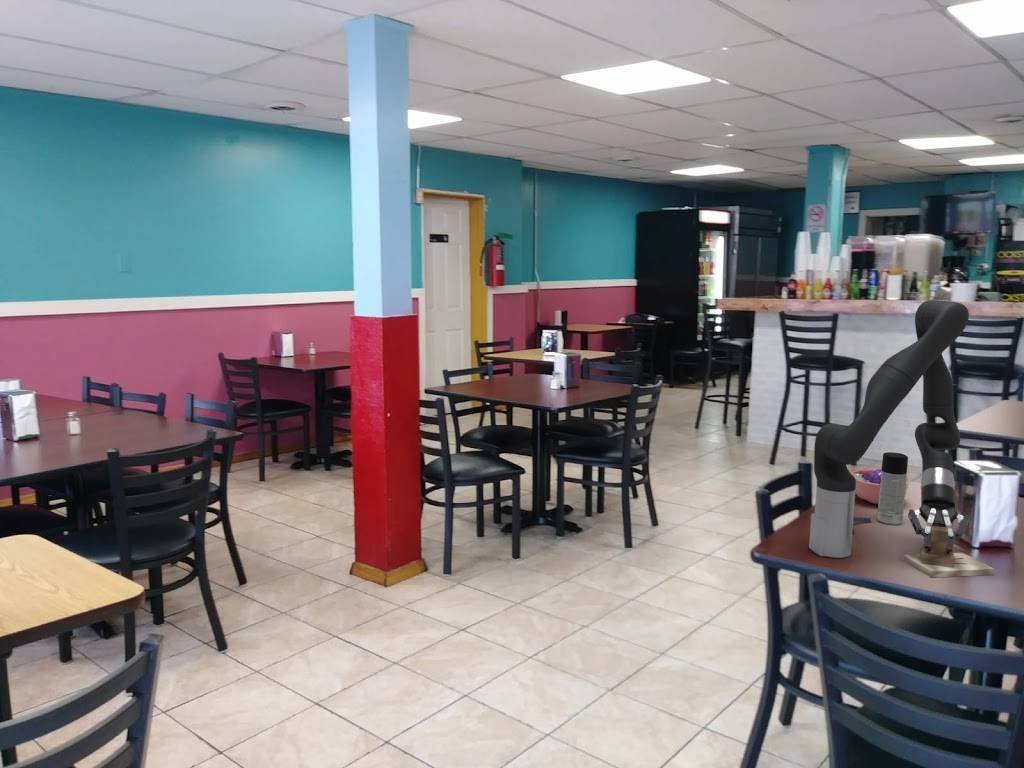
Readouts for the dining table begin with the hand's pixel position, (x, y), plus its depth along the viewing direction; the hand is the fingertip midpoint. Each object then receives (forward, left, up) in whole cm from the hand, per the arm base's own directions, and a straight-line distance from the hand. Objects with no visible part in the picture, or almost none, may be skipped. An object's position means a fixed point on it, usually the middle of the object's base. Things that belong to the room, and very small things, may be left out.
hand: (938, 551), depth 189 cm
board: (+4, +2, -5) cm, 7 cm away
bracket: (-4, +34, -6) cm, 34 cm away
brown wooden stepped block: (+1, +2, -4) cm, 4 cm away
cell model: (+19, +56, -5) cm, 59 cm away
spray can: (+11, +37, -5) cm, 39 cm away
